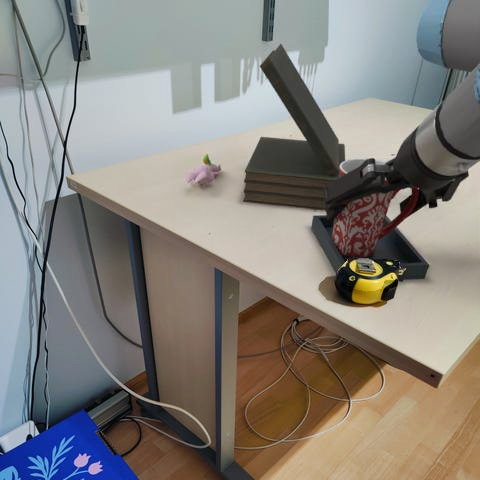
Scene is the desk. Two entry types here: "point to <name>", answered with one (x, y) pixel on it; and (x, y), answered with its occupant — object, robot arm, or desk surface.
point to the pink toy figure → (204, 172)
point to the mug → (366, 217)
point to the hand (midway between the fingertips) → (365, 212)
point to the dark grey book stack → (293, 146)
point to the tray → (386, 248)
